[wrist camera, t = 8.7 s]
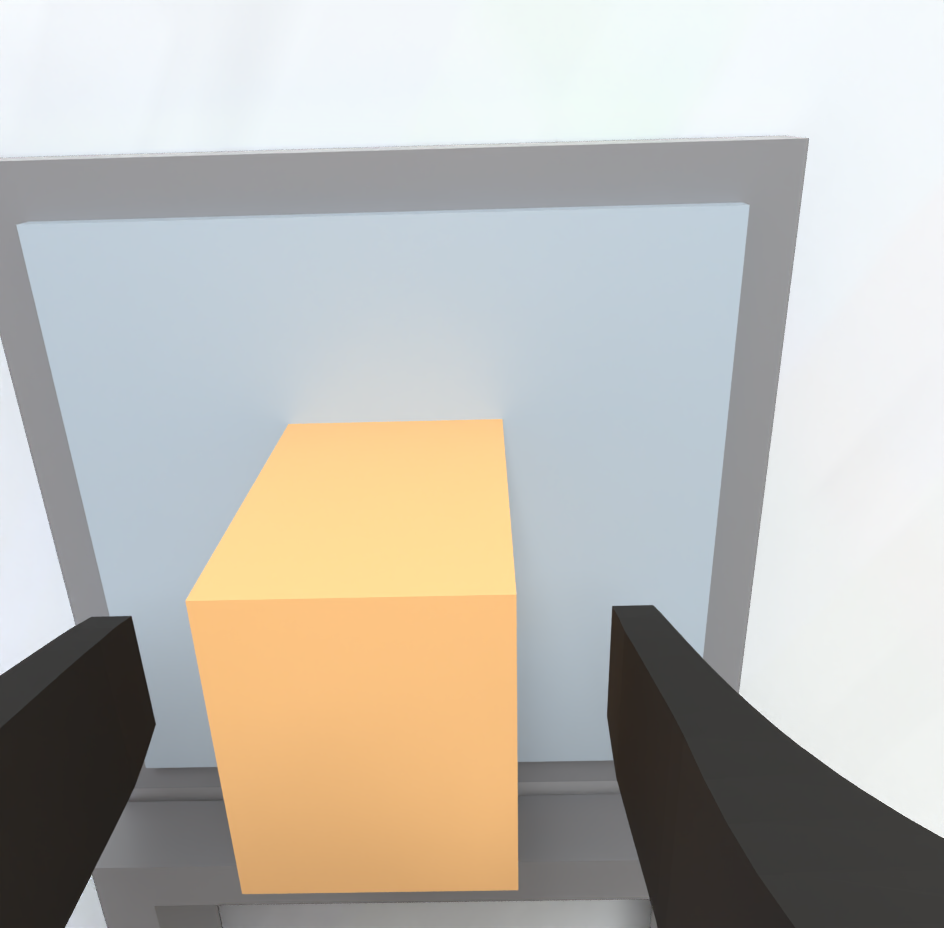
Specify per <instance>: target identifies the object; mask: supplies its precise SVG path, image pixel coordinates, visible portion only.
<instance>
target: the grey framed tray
mask: <svg viewBox="0 0 944 928" xmlns="http://www.w3.org/2000/svg"><path fill="white" fill-rule="evenodd" d="M808 143H809V138H801V137H793V136H753V137H717V138H682V139H647V140H611V141H576V142H540V143H505V144H469V145H434V146H398V147H363V148H327V149H292V150H256V151H221V152H185V153H150V154H115V155H79V156H44V157H8V158H0V336H1V340H2V344H3V348H4V352H5V356H6V359H7V363H8V367H9V371H10V375H11V379H12V383H13V386H14V390H15V394H16V398H17V402H18V406H19V409H20V413H21V417H22V421H23V425H24V429H25V433H26V436H27V440H28V444H29V448H30V452H31V456H32V459H33V463H34V467H35V471H36V475H37V479H38V483H39V486H40V490H41V494H42V498H43V502H44V506H45V509H46V513H47V517H48V521H49V525H50V529H51V533H52V536H53V540H54V544H55V548H56V552H57V556H58V559H59V563H60V567H61V571H62V575H63V579H64V583H65V586H66V590H67V594H68V598H69V602H70V606H71V609H72V613H73V617H74V621H75V625H78V624H79V623H81V622H83V621H85V620H87V619H88V618H90V617H101V616H132V620H133V624H134V629H135V633H136V638H137V642H138V646H139V651H140V655H141V660H142V664H143V669H144V673H145V677H146V682H147V686H148V691H149V695H150V700H151V704H152V709H153V713H154V717H155V722H156V726H155V729H154V732H153V735H152V739H151V742H150V745H149V748H148V751H147V754H146V757H145V760H144V763H143V766H142V769H141V771H140V774H139V777H138V780H137V783H136V785H135V788H134V790H133V792H132V794H131V796H130V798H129V800H128V802H127V804H126V806H125V809H124V811H123V813H122V815H121V817H120V819H119V821H118V823H117V825H116V827H115V829H114V831H113V833H112V835H111V837H110V839H109V841H108V843H107V845H106V847H105V849H104V851H103V853H102V855H101V857H100V859H99V861H98V863H97V865H96V867H95V869H94V871H93V873H92V876H93V880H94V883H95V886H96V890H97V893H98V897H99V900H100V904H101V907H102V910H103V914H104V917H105V921H106V924H107V927H108V928H222V925H221V920H220V915H219V910H218V906H217V905H252V904H324V903H396V902H467V901H539V900H611V899H650V898H649V894H648V891H647V887H646V883H645V880H644V876H643V873H642V869H641V866H640V862H639V858H638V855H637V851H636V848H635V844H634V841H633V837H632V833H631V830H630V826H629V823H628V819H627V815H626V812H625V808H624V804H623V801H622V797H621V794H620V790H619V786H618V782H617V779H616V773H615V767H614V760H613V754H612V748H611V741H610V734H609V727H608V720H607V702H608V681H609V661H610V640H611V619H612V606H630V605H654V606H655V607H656V608H657V609H658V610H659V611H660V612H661V613H662V614H663V615H664V617H665V618H666V619H667V620H668V621H669V622H670V623H671V624H672V625H673V627H674V628H675V629H676V630H677V631H678V632H679V633H680V634H681V635H682V636H683V637H684V639H685V640H686V641H687V642H688V643H689V644H690V645H691V646H692V647H693V648H694V649H695V650H696V651H697V653H698V654H699V655H700V656H701V657H702V658H703V659H704V660H705V661H706V662H707V663H708V664H709V665H710V666H711V667H712V668H713V669H714V670H715V671H716V672H717V673H718V674H719V675H720V676H721V677H722V678H723V679H724V680H725V681H726V682H727V683H728V684H729V685H730V686H731V687H732V688H733V689H734V690H735V691H736V692H737V693H738V694H739V687H740V679H741V671H742V663H743V656H744V648H745V640H746V632H747V624H748V616H749V608H750V600H751V592H752V585H753V577H754V569H755V561H756V553H757V545H758V537H759V529H760V521H761V514H762V506H763V498H764V490H765V482H766V474H767V466H768V458H769V451H770V443H771V435H772V427H773V419H774V411H775V403H776V395H777V387H778V380H779V372H780V364H781V356H782V348H783V340H784V332H785V324H786V317H787V309H788V301H789V293H790V285H791V277H792V269H793V261H794V253H795V246H796V238H797V230H798V222H799V214H800V206H801V198H802V190H803V183H804V175H805V167H806V159H807V151H808ZM481 419H502V420H503V432H504V445H505V457H506V470H507V482H508V495H509V507H510V520H511V532H512V545H513V557H514V569H515V582H516V594H517V759H518V890H499V891H429V892H358V893H288V894H242V890H241V885H240V880H239V875H238V870H237V865H236V860H235V854H234V849H233V844H232V839H231V834H230V829H229V824H228V818H227V813H226V808H225V803H224V798H223V793H222V788H221V782H220V777H219V772H218V767H217V762H216V757H215V751H214V746H213V741H212V736H211V731H210V726H209V721H208V715H207V710H206V705H205V700H204V695H203V690H202V685H201V679H200V674H199V669H198V664H197V659H196V654H195V649H194V643H193V638H192V633H191V628H190V623H189V618H188V612H187V607H186V602H185V601H186V599H187V597H188V596H189V594H190V592H191V590H192V589H193V587H194V585H195V584H196V582H197V580H198V578H199V577H200V575H201V573H202V572H203V570H204V568H205V566H206V565H207V563H208V561H209V560H210V558H211V556H212V554H213V553H214V551H215V549H216V548H217V546H218V544H219V542H220V541H221V539H222V537H223V535H224V534H225V532H226V530H227V529H228V527H229V525H230V523H231V522H232V520H233V518H234V517H235V515H236V513H237V511H238V510H239V508H240V506H241V505H242V503H243V501H244V499H245V498H246V496H247V494H248V493H249V491H250V489H251V487H252V486H253V484H254V482H255V481H256V479H257V477H258V475H259V474H260V472H261V470H262V469H263V467H264V465H265V463H266V462H267V460H268V458H269V457H270V455H271V453H272V451H273V450H274V448H275V446H276V445H277V443H278V441H279V439H280V438H281V436H282V434H283V433H284V431H285V429H286V427H287V426H288V424H308V423H351V422H394V421H437V420H481ZM650 928H657V923H656V919H655V916H654V912H653V908H652V911H651V922H650Z"/></svg>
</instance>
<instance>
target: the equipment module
mask: <svg viewBox="0 0 944 928" xmlns="http://www.w3.org/2000/svg"><path fill="white" fill-rule="evenodd" d="M185 602H186V607H187V612H188V618H189V623H190V628H191V633H192V638H193V643H194V649H195V654H196V659H197V664H198V669H199V674H200V679H201V685H202V690H203V695H204V700H205V705H206V710H207V715H208V721H209V726H210V731H211V736H212V741H213V746H214V751H215V757H216V762H217V767H218V772H219V777H220V782H221V788H222V793H223V798H224V803H225V808H226V813H227V818H228V824H229V829H230V834H231V839H232V844H233V849H234V854H235V860H236V865H237V870H238V875H239V880H240V885H241V890H242V894H288V893H358V892H429V891H499V890H518V759H517V594H516V582H515V569H514V557H513V545H512V532H511V520H510V507H509V495H508V482H507V470H506V457H505V445H504V432H503V420H502V419H481V420H437V421H394V422H351V423H308V424H288V426H287V427H286V429H285V431H284V433H283V434H282V436H281V438H280V439H279V441H278V443H277V445H276V446H275V448H274V450H273V451H272V453H271V455H270V457H269V458H268V460H267V462H266V463H265V465H264V467H263V469H262V470H261V472H260V474H259V475H258V477H257V479H256V481H255V482H254V484H253V486H252V487H251V489H250V491H249V493H248V494H247V496H246V498H245V499H244V501H243V503H242V505H241V506H240V508H239V510H238V511H237V513H236V515H235V517H234V518H233V520H232V522H231V523H230V525H229V527H228V529H227V530H226V532H225V534H224V535H223V537H222V539H221V541H220V542H219V544H218V546H217V548H216V549H215V551H214V553H213V554H212V556H211V558H210V560H209V561H208V563H207V565H206V566H205V568H204V570H203V572H202V573H201V575H200V577H199V578H198V580H197V582H196V584H195V585H194V587H193V589H192V590H191V592H190V594H189V596H188V597H187V599H186V601H185Z"/></svg>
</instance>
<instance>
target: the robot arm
mask: <svg viewBox="0 0 944 928" xmlns="http://www.w3.org/2000/svg"><path fill="white" fill-rule="evenodd" d="M607 720H608V727H609V734H610V741H611V748H612V754H613V760H614V767H615V773H616V779H617V782H618V786H619V790H620V794H621V797H622V801H623V804H624V808H625V812H626V815H627V819H628V823H629V826H630V830H631V833H632V837H633V841H634V844H635V848H636V851H637V855H638V858H639V862H640V866H641V869H642V873H643V876H644V880H645V883H646V887H647V891H648V894H649V898H650V901H651V905H652V908H653V912H654V916H655V919H656V923H657V928H944V838H942V837H940V836H938V835H937V834H935V833H933V832H931V831H929V830H928V829H926V828H924V827H922V826H921V825H919V824H917V823H915V822H914V821H912V820H910V819H908V818H907V817H905V816H903V815H902V814H900V813H898V812H897V811H895V810H894V809H892V808H890V807H889V806H887V805H885V804H884V803H882V802H881V801H879V800H877V799H876V798H874V797H873V796H871V795H869V794H868V793H866V792H865V791H863V790H861V789H860V788H858V787H857V786H855V785H854V784H852V783H851V782H849V781H848V780H846V779H845V778H843V777H842V776H840V775H839V774H838V773H836V772H835V771H833V770H832V769H831V768H829V767H828V766H827V765H825V764H824V763H822V762H821V761H820V760H818V759H817V758H816V757H814V756H813V755H812V754H810V753H809V752H807V751H806V750H805V749H803V748H802V747H801V746H799V745H798V744H797V743H795V742H794V741H793V740H792V739H790V738H789V737H788V736H787V735H785V734H784V733H783V732H782V731H780V730H779V729H778V728H777V727H776V726H774V725H773V724H772V723H771V722H770V721H769V720H767V719H766V718H765V717H764V716H763V715H762V714H761V713H759V712H758V711H757V710H756V709H755V708H754V707H752V706H751V705H750V704H749V703H748V702H747V701H746V700H745V699H744V698H743V697H742V696H740V695H739V694H738V693H737V692H736V691H735V690H734V689H733V688H732V687H731V686H730V685H729V684H728V683H727V682H726V681H725V680H724V679H723V678H722V677H721V676H720V675H719V674H718V673H717V672H716V671H715V670H714V669H713V668H712V667H711V666H710V665H709V664H708V663H707V662H706V661H705V660H704V659H703V658H702V657H701V656H700V655H699V654H698V653H697V651H696V650H695V649H694V648H693V647H692V646H691V645H690V644H689V643H688V642H687V641H686V640H685V639H684V637H683V636H682V635H681V634H680V633H679V632H678V631H677V630H676V629H675V628H674V627H673V625H672V624H671V623H670V622H669V621H668V620H667V619H666V618H665V617H664V615H663V614H662V613H661V612H660V611H659V610H658V609H657V608H656V607H655V606H654V605H630V606H612V619H611V640H610V661H609V681H608V702H607ZM155 726H156V722H155V717H154V713H153V709H152V704H151V700H150V695H149V691H148V686H147V682H146V677H145V673H144V669H143V664H142V660H141V655H140V651H139V646H138V642H137V638H136V633H135V629H134V624H133V620H132V616H101V617H90V618H88V619H87V620H85V621H83V622H81V623H79V624H78V625H76V626H74V627H73V628H71V629H70V630H68V631H66V632H65V633H63V634H62V635H60V636H59V637H57V638H56V639H54V640H53V641H51V642H50V643H48V644H47V645H45V646H44V647H42V648H41V649H39V650H38V651H36V652H35V653H33V654H32V655H30V656H29V657H27V658H26V659H24V660H23V661H21V662H20V663H18V664H17V665H15V666H14V667H12V668H11V669H9V670H8V671H6V672H5V673H3V674H2V675H0V928H65V926H66V924H67V922H68V920H69V918H70V916H71V914H72V912H73V910H74V908H75V906H76V904H77V902H78V900H79V898H80V896H81V894H82V893H83V891H84V889H85V887H86V885H87V883H88V881H89V879H90V877H91V875H92V873H93V871H94V869H95V867H96V865H97V863H98V861H99V859H100V857H101V855H102V853H103V851H104V849H105V847H106V845H107V843H108V841H109V839H110V837H111V835H112V833H113V831H114V829H115V827H116V825H117V823H118V821H119V819H120V817H121V815H122V813H123V811H124V809H125V806H126V804H127V802H128V800H129V798H130V796H131V794H132V792H133V790H134V788H135V785H136V783H137V780H138V777H139V774H140V771H141V769H142V766H143V763H144V760H145V757H146V754H147V751H148V748H149V745H150V742H151V739H152V735H153V732H154V729H155Z"/></svg>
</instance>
